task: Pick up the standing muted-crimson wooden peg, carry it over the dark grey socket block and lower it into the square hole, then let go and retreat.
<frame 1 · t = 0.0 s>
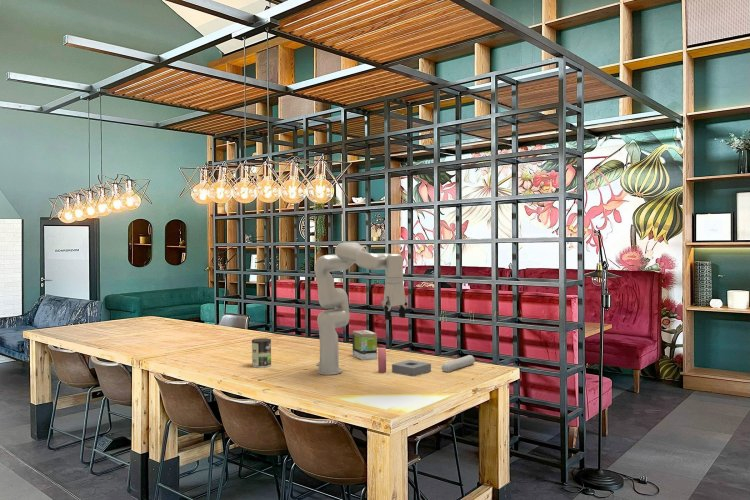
hand: (395, 318, 262), 31 cm above the table, tool pointing down, fingers open, 9 cm apart
peg: (382, 372, 293), on the table
tube: (457, 368, 300), on the table
tea box: (364, 357, 331), on the table
coffee can: (261, 366, 311), on the table
socket block: (411, 371, 293), on the table
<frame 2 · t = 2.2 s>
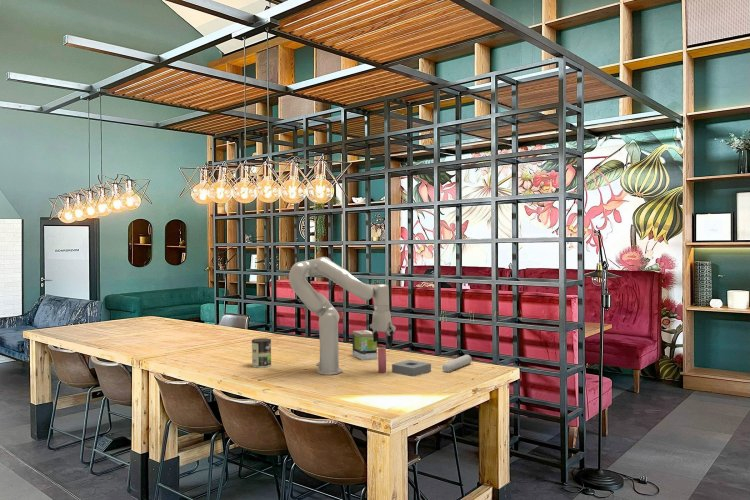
hand: (383, 342, 293), 15 cm above the table, tool pointing down, fingers open, 9 cm apart
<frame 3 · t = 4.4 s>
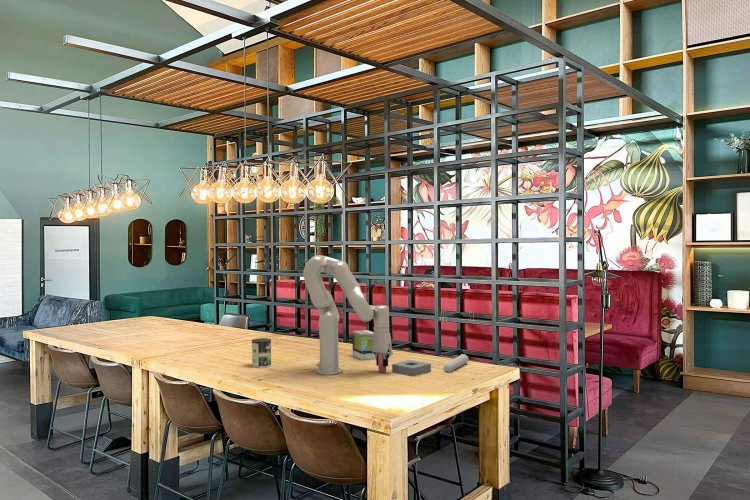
hand: (382, 365, 293), 3 cm above the table, tool pointing down, fingers closed on peg, 4 cm apart
peg: (382, 372, 293), on the table, touching gripper
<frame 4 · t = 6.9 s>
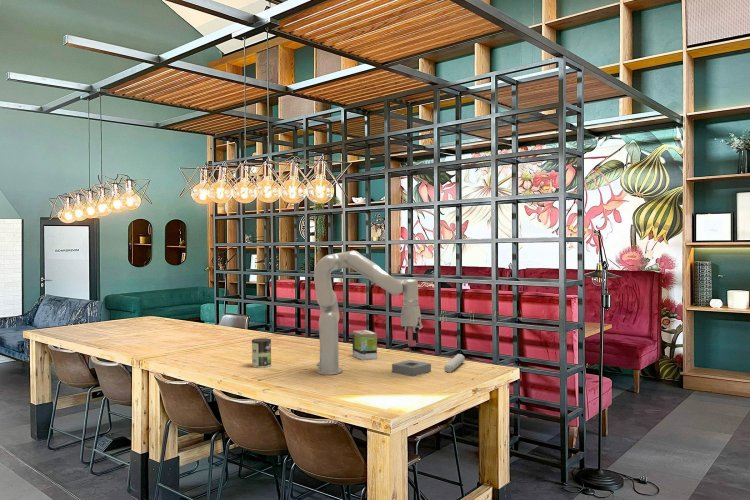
hand: (411, 339, 292), 16 cm above the table, tool pointing down, fingers closed on peg, 4 cm apart
peg: (411, 345, 293), point 13 cm above the table, touching gripper
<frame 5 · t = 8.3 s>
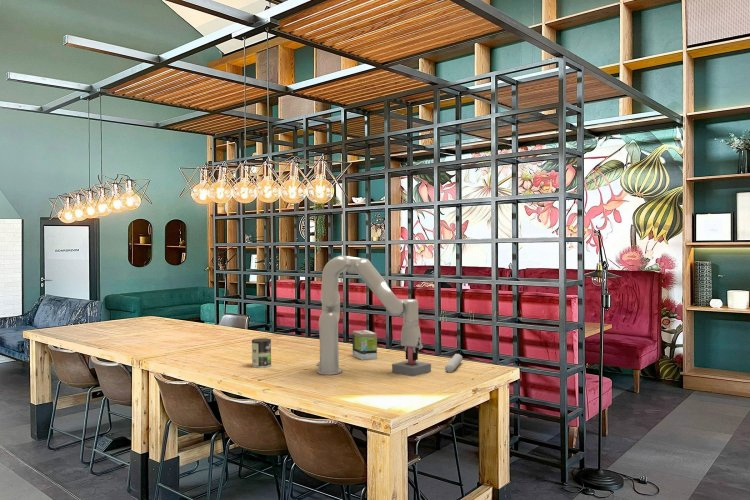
hand: (411, 359, 293), 6 cm above the table, tool pointing down, fingers closed on peg, 4 cm apart
peg: (411, 365, 293), point 3 cm above the table, touching gripper
when the fingers open (5 cm above the table, at t = 9.6 s): peg drops 1 cm, resting in socket block.
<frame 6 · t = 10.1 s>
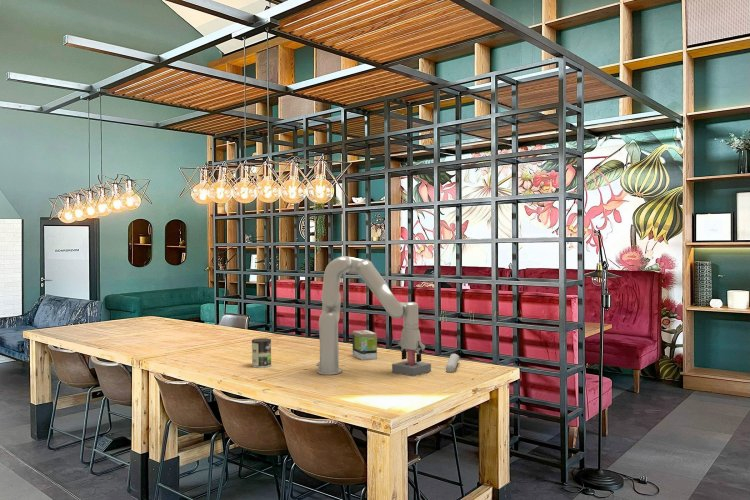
hand: (411, 360, 293), 6 cm above the table, tool pointing down, fingers open, 9 cm apart
peg: (411, 371, 293), resting in socket block
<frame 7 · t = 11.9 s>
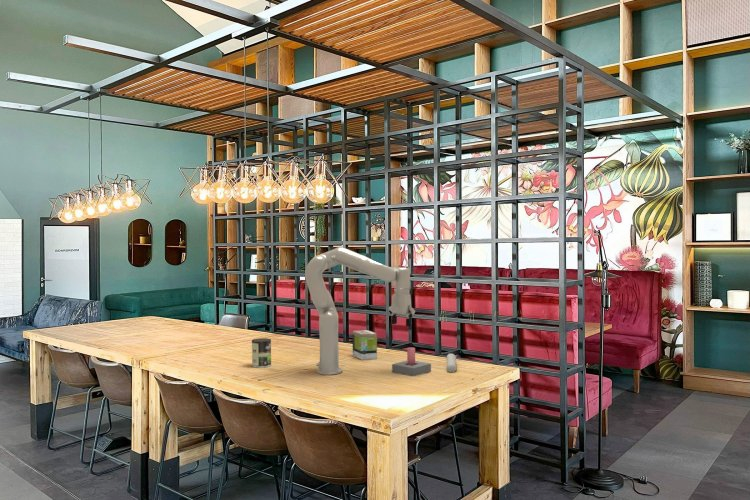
hand: (401, 325, 295), 23 cm above the table, tool pointing down, fingers open, 9 cm apart
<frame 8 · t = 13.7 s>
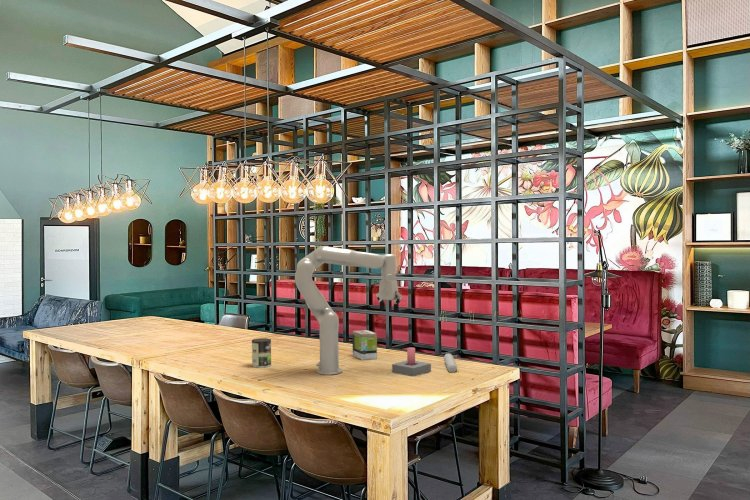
hand: (389, 310, 300), 30 cm above the table, tool pointing down, fingers open, 9 cm apart
at the end: peg 0.1 cm off-centre on the socket block, point 0.0 cm above the socket block's base; peg tilted 0°; the gripper is holding nothing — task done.
